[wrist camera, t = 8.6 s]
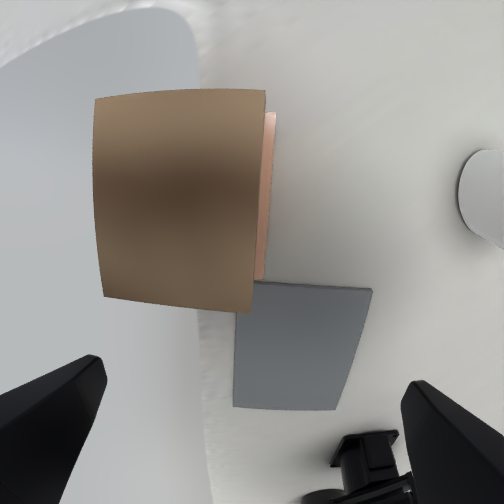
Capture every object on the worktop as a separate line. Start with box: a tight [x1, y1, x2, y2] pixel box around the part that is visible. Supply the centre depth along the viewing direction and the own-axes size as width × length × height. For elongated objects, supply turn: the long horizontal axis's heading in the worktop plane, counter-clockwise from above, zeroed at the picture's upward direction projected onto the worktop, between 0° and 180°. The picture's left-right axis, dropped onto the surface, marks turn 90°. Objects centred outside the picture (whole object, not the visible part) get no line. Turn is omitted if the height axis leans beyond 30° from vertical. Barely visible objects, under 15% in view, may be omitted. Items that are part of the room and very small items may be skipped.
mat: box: [233, 281, 373, 410], centre depth 21 cm, size 12×9×1 cm
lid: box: [92, 89, 266, 314], centre depth 12 cm, size 9×7×2 cm
